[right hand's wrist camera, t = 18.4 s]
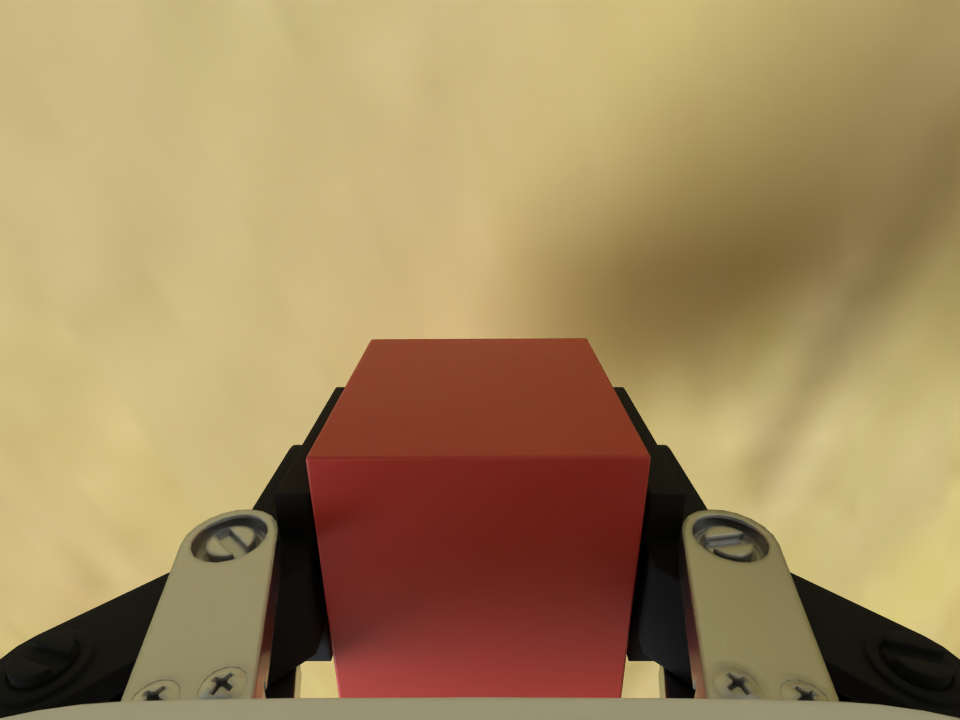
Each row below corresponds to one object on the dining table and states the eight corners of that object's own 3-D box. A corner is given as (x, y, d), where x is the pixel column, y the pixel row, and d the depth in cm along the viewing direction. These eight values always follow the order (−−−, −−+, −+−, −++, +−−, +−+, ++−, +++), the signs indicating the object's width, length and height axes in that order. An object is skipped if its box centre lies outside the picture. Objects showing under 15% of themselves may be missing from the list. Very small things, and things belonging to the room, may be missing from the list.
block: (370, 338, 11) (303, 457, 7) (586, 337, 11) (652, 456, 7) (386, 532, 13) (341, 722, 9) (573, 532, 13) (618, 721, 9)
